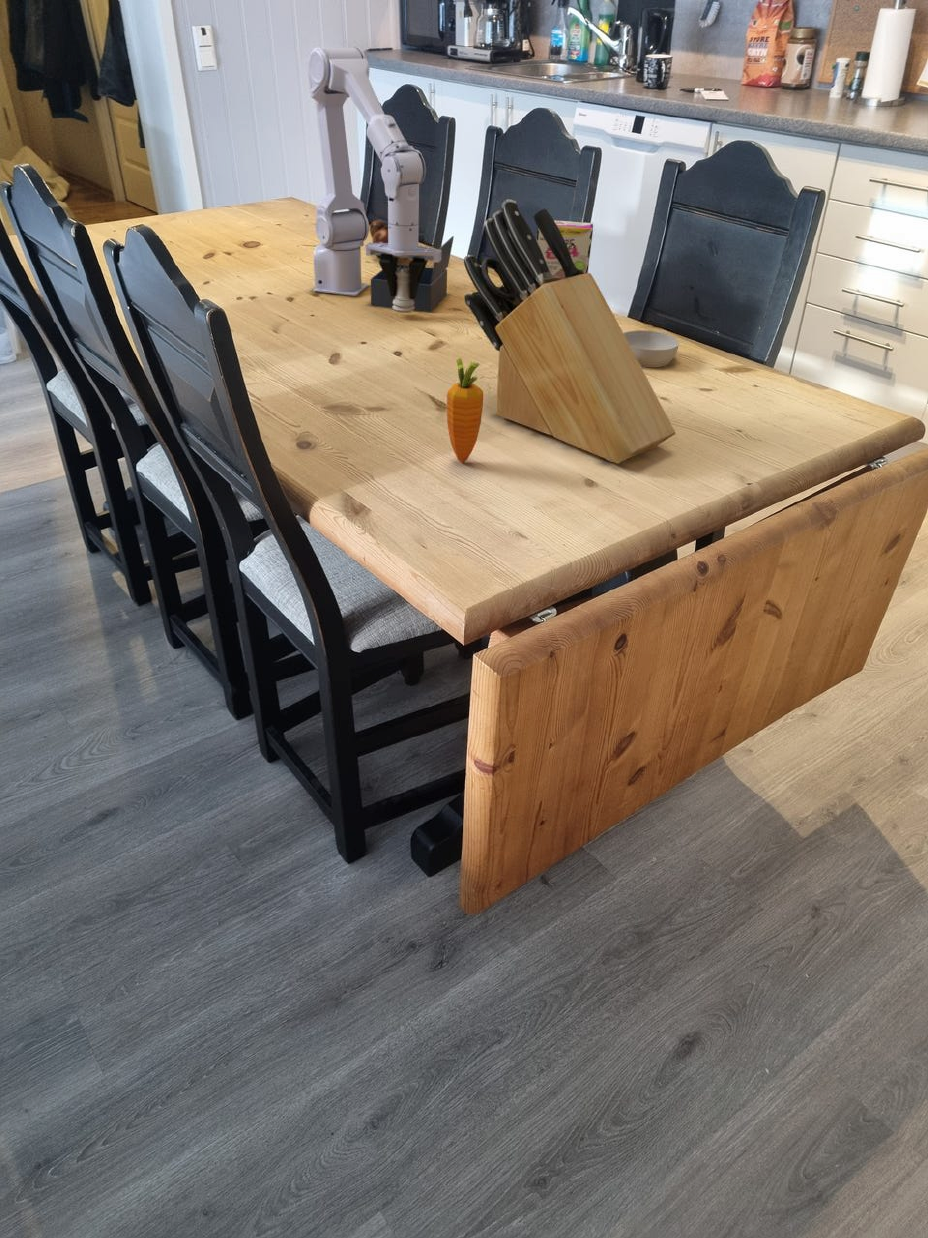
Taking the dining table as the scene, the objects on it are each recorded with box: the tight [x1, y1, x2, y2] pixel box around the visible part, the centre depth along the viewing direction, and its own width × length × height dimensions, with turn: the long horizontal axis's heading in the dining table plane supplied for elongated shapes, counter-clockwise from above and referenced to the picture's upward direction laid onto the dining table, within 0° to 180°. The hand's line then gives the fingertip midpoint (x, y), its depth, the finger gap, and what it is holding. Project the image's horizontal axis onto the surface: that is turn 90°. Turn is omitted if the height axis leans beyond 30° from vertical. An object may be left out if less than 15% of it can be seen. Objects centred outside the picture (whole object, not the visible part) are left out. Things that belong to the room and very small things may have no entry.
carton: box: [370, 263, 448, 313], centre depth 192 cm, size 13×13×5 cm
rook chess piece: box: [391, 266, 415, 314], centre depth 181 cm, size 4×4×8 cm
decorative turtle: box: [369, 219, 409, 260], centre depth 216 cm, size 10×15×8 cm, turn 54°
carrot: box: [446, 357, 484, 464], centre depth 127 cm, size 5×5×15 cm
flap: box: [431, 235, 455, 282], centre depth 187 cm, size 6×12×1 cm
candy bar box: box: [535, 219, 594, 279], centre depth 189 cm, size 11×5×16 cm, turn 84°
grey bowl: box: [623, 329, 680, 368], centre depth 169 cm, size 11×18×4 cm, turn 65°
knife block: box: [463, 198, 676, 464], centre depth 135 cm, size 11×35×31 cm, turn 45°
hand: (403, 296), depth 182 cm, fingers closed on rook chess piece, 3 cm apart
